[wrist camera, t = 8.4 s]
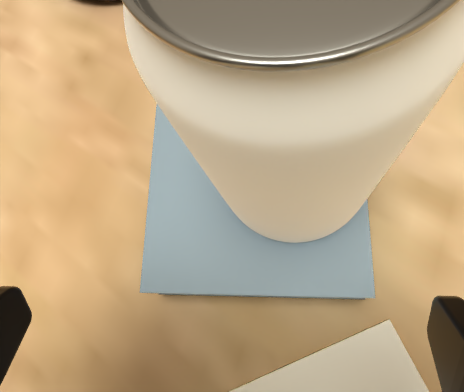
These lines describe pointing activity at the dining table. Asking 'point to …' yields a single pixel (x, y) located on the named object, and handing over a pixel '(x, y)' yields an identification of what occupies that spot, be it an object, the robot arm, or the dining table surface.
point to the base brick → (237, 241)
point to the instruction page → (348, 367)
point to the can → (295, 96)
